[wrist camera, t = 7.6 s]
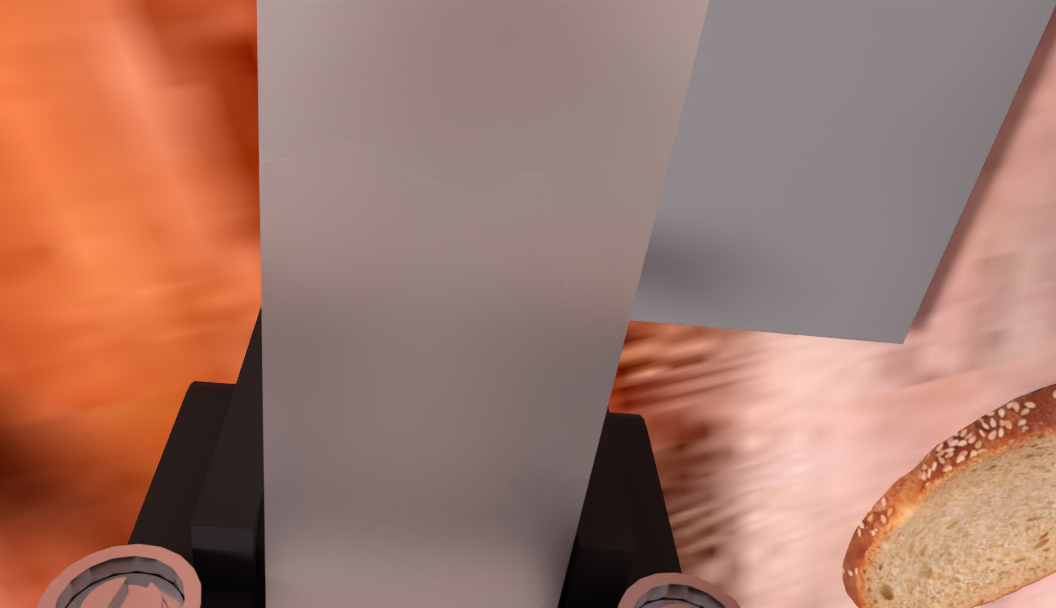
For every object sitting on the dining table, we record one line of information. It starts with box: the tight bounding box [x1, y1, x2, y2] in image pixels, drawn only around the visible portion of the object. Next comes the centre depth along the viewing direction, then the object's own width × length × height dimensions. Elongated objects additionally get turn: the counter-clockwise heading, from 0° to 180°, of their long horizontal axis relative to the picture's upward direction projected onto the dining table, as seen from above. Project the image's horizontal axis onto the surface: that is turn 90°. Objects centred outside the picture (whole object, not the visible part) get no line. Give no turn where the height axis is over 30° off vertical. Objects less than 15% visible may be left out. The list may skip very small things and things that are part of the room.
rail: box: [257, 0, 710, 608], centre depth 10 cm, size 2×24×2 cm, turn 172°
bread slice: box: [842, 384, 1056, 608], centre depth 52 cm, size 18×18×4 cm
